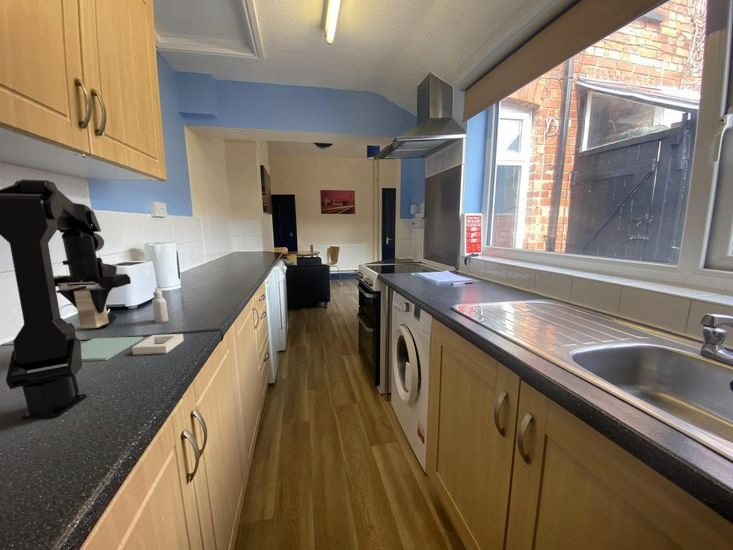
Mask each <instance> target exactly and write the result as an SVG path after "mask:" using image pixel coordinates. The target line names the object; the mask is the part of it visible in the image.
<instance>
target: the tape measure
mask: <svg viewBox="0 0 733 550" xmlns="http://www.w3.org/2000/svg"><path fill="white" fill-rule="evenodd" d="M107 316H108V321H109V323H107V324H105V325H102V326H100V327H98V328H97V329H99V328H106V327H108V326H109V325H110V324H112V323H114V322H115V320H116V319H117V315H115V314H114V313H107Z"/></svg>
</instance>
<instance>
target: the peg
mask: <svg viewBox="0 0 733 550" xmlns="http://www.w3.org/2000/svg"><path fill="white" fill-rule="evenodd" d="M92 289H95V287H86V289H82V290H78V291H74V296H75V301H76V306H77V308H76V311H77V315H78V319H79V325H80V329H99V328H98V327H100V326H102V325H105V324H107V323H109V321H108V316H107V314H108V311H107V307H106V305H107V304H105V308H104V311H103V312H102V313H98V311H97V309H96V307H95V304H94V302H93V299H92V297H91V294H90V292H89V290H92ZM100 328H101V327H100Z"/></svg>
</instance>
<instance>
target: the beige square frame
mask: <svg viewBox="0 0 733 550" xmlns="http://www.w3.org/2000/svg"><path fill="white" fill-rule="evenodd" d="M184 341H185V340H184V333H175V334H174V333H173V334H172V333H171V334H152V335H150V336H149V337H147V338H146V339H144V340H141V341H139V342H138V343H137V344H134V346H132V347H131V349H132V355H133V356H134V355H153V354H156V355H157V354H167V353H169V352H170V351H172V350H174V348H175V347H177V346H178V345H179V344H181V343H183V342H184Z"/></svg>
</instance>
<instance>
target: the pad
mask: <svg viewBox="0 0 733 550" xmlns="http://www.w3.org/2000/svg"><path fill="white" fill-rule="evenodd" d="M143 339H144V336H125V337H124V336H123V337H122V336H121V337H98V338H96V337H95V338H92V339H90V340H88V341H85V342H84V343H80V344H81V356H82V362H91V361H93V362H94V361H95V362H96V361H107V360H109V359H110V358H112V357H115V356H116V355H117V354H119V353H120V352H123V351H124V350H126V349H127V348H129V347H131V346H133V345H136V343H139V342H141V341H142V340H143Z"/></svg>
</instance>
